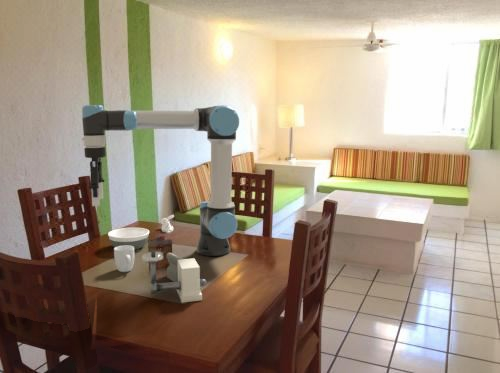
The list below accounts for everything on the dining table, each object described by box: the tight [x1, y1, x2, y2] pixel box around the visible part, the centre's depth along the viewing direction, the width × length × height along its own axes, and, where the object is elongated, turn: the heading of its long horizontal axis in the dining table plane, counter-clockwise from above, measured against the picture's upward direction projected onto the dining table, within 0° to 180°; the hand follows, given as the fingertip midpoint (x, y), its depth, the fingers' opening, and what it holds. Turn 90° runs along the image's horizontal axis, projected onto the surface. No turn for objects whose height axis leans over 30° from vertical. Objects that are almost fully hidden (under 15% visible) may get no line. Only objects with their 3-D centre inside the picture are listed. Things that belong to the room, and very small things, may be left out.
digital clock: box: [166, 252, 183, 282], centre depth 175 cm, size 14×8×9 cm, turn 26°
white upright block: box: [176, 257, 203, 304], centre depth 159 cm, size 7×12×11 cm, turn 18°
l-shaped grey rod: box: [141, 250, 208, 295], centre depth 157 cm, size 22×7×16 cm, turn 108°
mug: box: [113, 245, 135, 273], centre depth 182 cm, size 11×8×9 cm
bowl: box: [107, 226, 150, 251], centre depth 211 cm, size 19×19×8 cm
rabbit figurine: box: [160, 214, 175, 234], centre depth 240 cm, size 12×8×10 cm, turn 22°
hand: (98, 202), depth 175 cm, fingers open, 13 cm apart
